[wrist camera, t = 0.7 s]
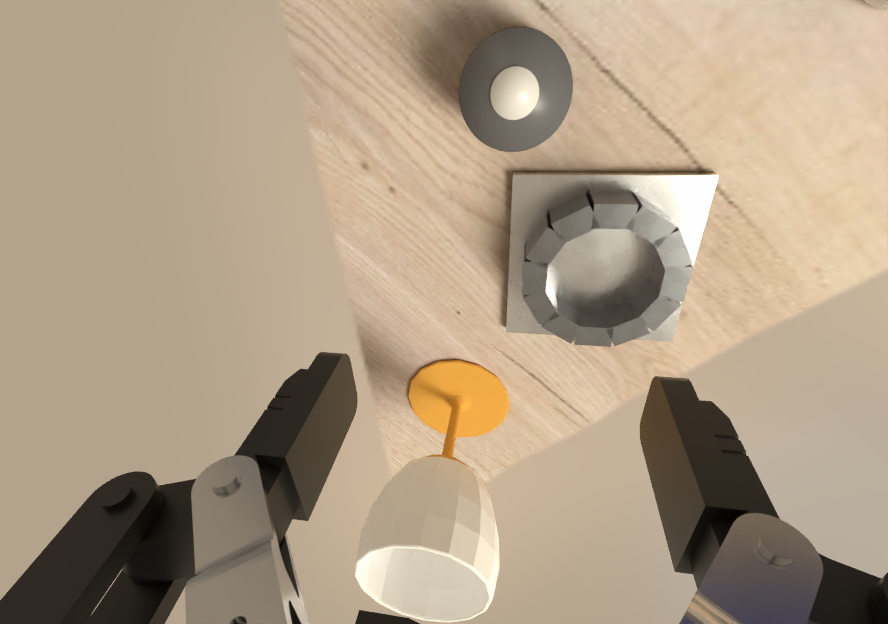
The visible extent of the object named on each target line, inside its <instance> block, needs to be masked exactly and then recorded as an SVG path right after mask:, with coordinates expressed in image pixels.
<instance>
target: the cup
mask: <svg viewBox="0 0 888 624" xmlns="http://www.w3.org/2000/svg"><path fill="white" fill-rule="evenodd" d="M408 397H409V400H410V403H411V407H412V410H413V411H414V412H415V414H416V415H417V416H418V417H419V418H420V419H421V420H422V422H423V423H425V424H426V425H428V426H430V427H431V428H433V429H435V430H436V431H438V432H440V433H444V434H446V438H445V443H444V448H443V453H442V455H431V456H426V457H422V458H419V459H416V460H413V461H410V462H409V463H408V464H407V465H406V466H405V467H404V468H403V469H402V470H401V471H399V472H398V473H397V474H396V475H395V476H394V477H393V478H392V479H391V480H390V481H389V482H388V483H387V484H386V486H385V487H384V489H383V490H382V492H381V493H380V495H379V496H378V498H377V499H376V501H375V502H374V504H373V506H372V508H371V510H370V512H369V515H368V517H367V519H366V522H365V524H364V526H363V529H362V532H361V537H360V543H359V549H358V554H357V560H356V566H355V572H354V575H355V576H356V578H357V580H358V582H359V584H360V586H361V588H362V590H363V591H364V592H366V593H367V594H368V595H369V596H370V597H372V598H373V599H374V600H375V601H376V602H377V603H379V604H381V605H383V606H385V607H387V608H389V609H391V610H393V611H395V612H397V613H399V614H403V615H406V616H410V617H413V618H417V619H420V620H425V621H436V622H455V621H462V620H469V619H471V618H473V617H475V616H477V615H479V614H481V613H483V612H485V611H486V610H487V608H488V606H489V604H490V603H491V601H492V599H493V596H494V591H495V586H496V581H497V576H498V572H499V538H498V532H497V527H496V522H495V518H494V512H493V508H492V504H491V499H490V497H489V494H488V492H487V490H486V488H485V485H484V483H483V481H482V480H481V478H480V477H479V476H478V475H477V474H476V473H475V471H474V470H473V469H471V468H470V467H468V466H467V465H466V464H464V463H463V462H461V461H459V460H458V459H456V458H454V457H453V451H454V446H455V440H456V437H476V436H479V435H482V434H485V433H488V432H490V431H493V430H494V429H495V428H496V427H497V426H498V425H500V424H501V423H502V422H503V421H504V419H505V417H506V414H507V411H508V409H509V401H508V395H507V390H506V389H505V387H504V386H503V385H502V383H501V382H500V381H499V379H498V378H497V377H496V376H495V375H494V374H492V373H491V372H489V371H487V370H486V369H484V368H483V367H481V366H480V365H476V364H472V363H468V362H464V361H461V360H451V361H438V362H436V363H433V364H431V365H429V366H427V367H424V368H422V369H421V370H420V371H419V372H418V373H417V375H416V376H415V377H414V378H413V379H412V380H411V384H410V389H409V394H408Z"/></svg>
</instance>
